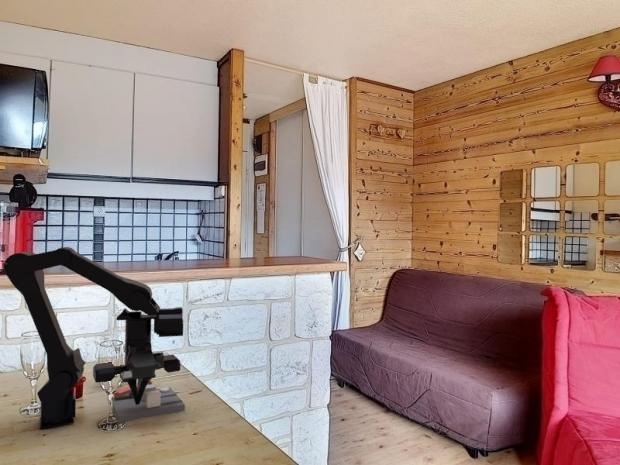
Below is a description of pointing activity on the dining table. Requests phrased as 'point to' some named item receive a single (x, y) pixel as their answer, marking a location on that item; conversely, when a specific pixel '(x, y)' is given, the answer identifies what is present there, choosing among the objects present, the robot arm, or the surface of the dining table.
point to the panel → (130, 411)
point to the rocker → (125, 390)
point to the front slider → (152, 399)
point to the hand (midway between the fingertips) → (137, 404)
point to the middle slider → (148, 390)
